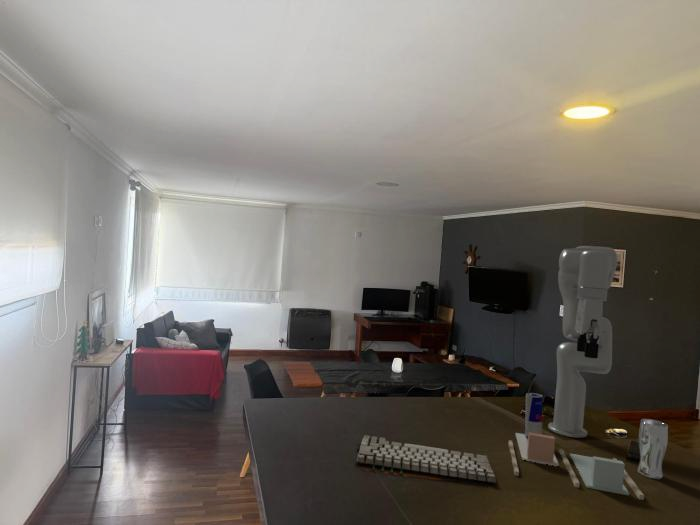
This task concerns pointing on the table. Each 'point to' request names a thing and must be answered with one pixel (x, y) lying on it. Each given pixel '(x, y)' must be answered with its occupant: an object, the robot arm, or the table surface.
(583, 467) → the strip
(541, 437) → the strip
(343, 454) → the table surface
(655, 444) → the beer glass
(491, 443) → the table surface
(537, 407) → the beverage can
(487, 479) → the mechanical keyboard
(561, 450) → the lane frame
